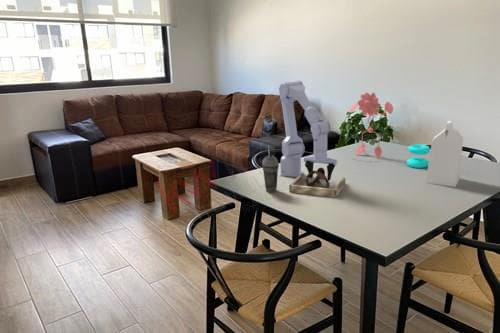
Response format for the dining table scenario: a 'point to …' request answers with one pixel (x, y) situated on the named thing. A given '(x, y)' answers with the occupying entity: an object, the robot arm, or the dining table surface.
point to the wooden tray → (315, 188)
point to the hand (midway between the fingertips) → (320, 178)
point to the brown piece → (317, 178)
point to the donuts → (418, 161)
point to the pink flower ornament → (370, 106)
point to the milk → (445, 157)
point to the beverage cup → (270, 172)
